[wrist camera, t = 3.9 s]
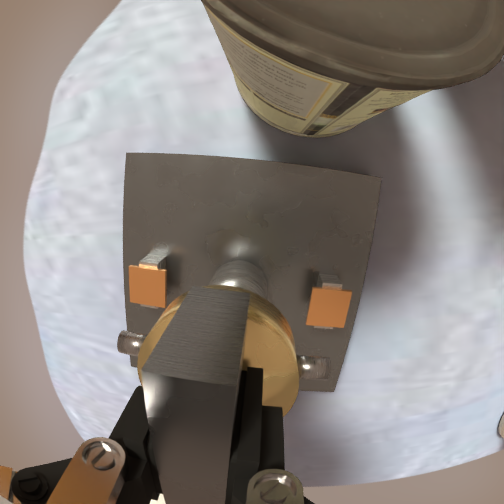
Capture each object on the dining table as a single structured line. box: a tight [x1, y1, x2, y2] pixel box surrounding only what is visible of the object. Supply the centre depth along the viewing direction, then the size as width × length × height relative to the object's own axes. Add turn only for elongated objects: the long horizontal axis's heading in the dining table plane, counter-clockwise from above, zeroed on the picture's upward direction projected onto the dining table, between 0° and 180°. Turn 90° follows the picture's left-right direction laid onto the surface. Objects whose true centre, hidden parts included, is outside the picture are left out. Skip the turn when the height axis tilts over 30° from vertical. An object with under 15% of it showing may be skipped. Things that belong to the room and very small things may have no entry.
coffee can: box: [201, 0, 504, 138], centre depth 11 cm, size 10×10×14 cm
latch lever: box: [117, 285, 331, 504], centre depth 9 cm, size 9×8×7 cm
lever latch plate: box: [123, 153, 382, 392], centre depth 17 cm, size 16×16×9 cm
